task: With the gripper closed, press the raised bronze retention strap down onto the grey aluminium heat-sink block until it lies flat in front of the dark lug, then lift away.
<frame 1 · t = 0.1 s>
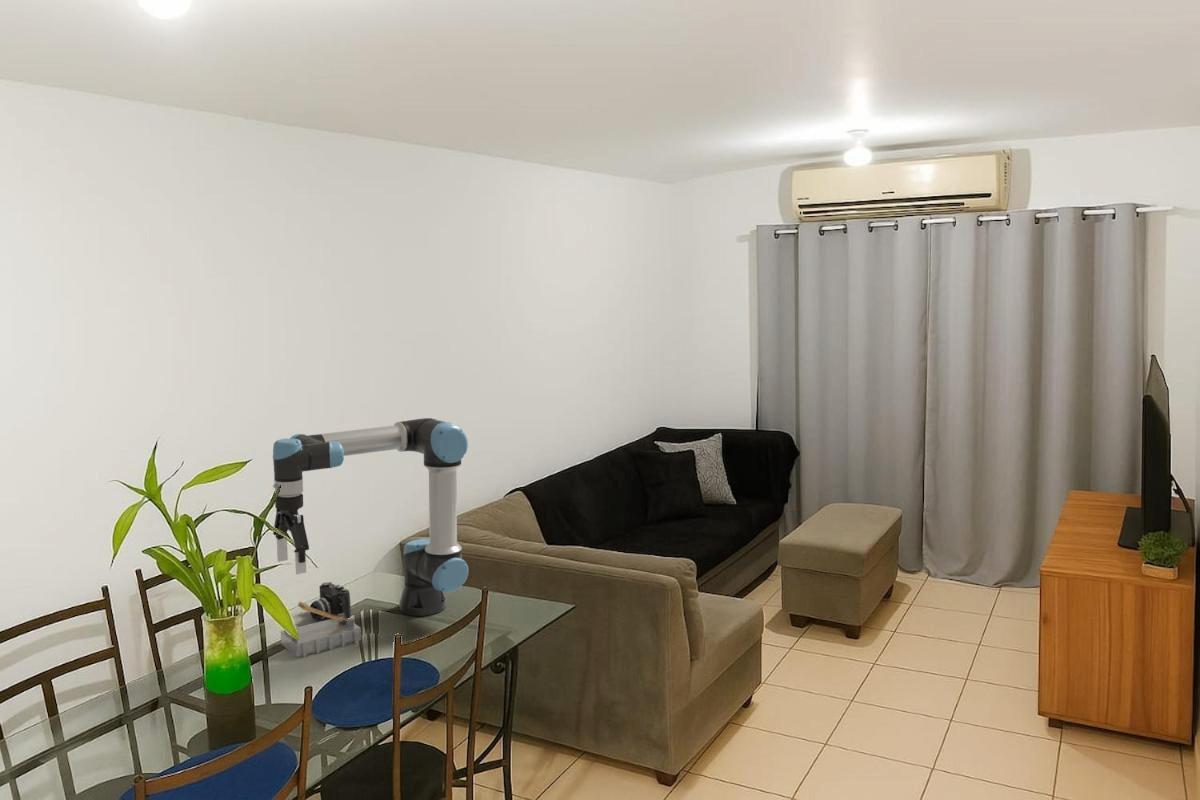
hand: (291, 566, 265), 28 cm above the table, fingers open, 13 cm apart
camera: (327, 617, 301), on the table
heatsink: (321, 642, 281), on the table
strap: (325, 613, 281), point 9 cm above the table, hinge at 30.0°
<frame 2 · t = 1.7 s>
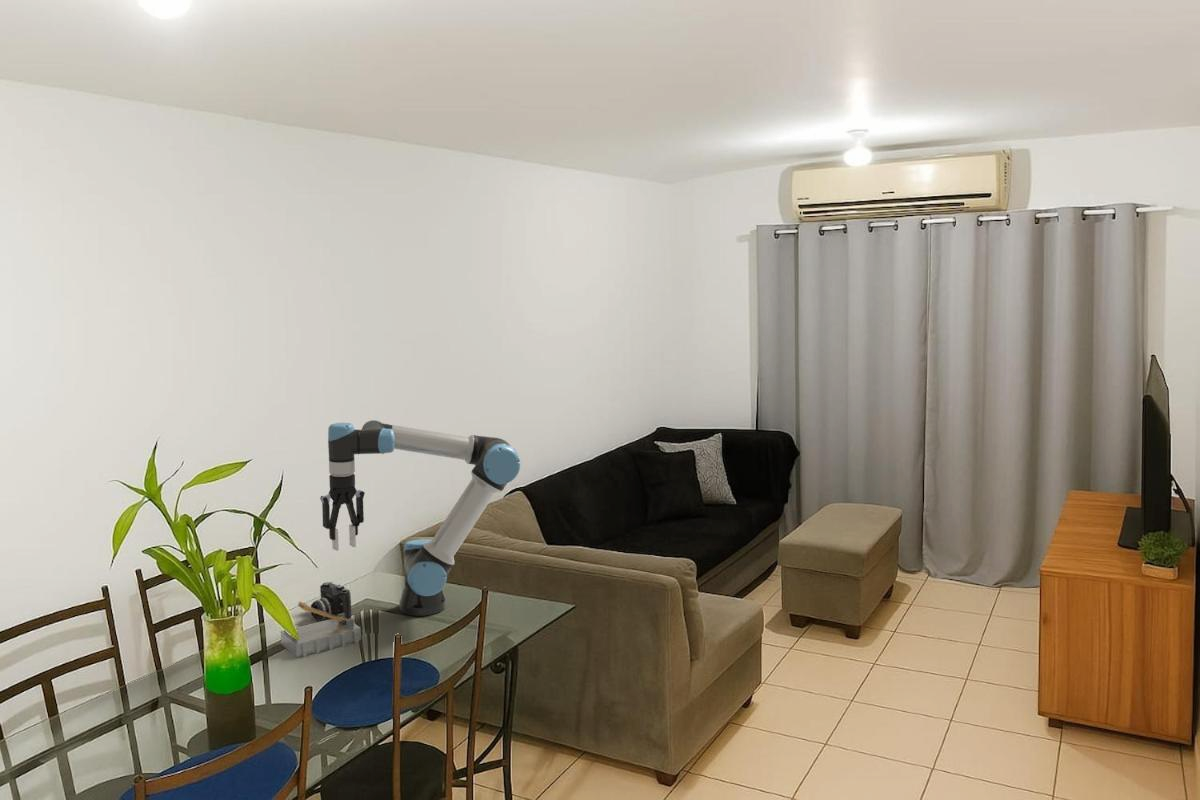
hand: (344, 547, 287), 27 cm above the table, fingers open, 5 cm apart
nothing on the table moved.
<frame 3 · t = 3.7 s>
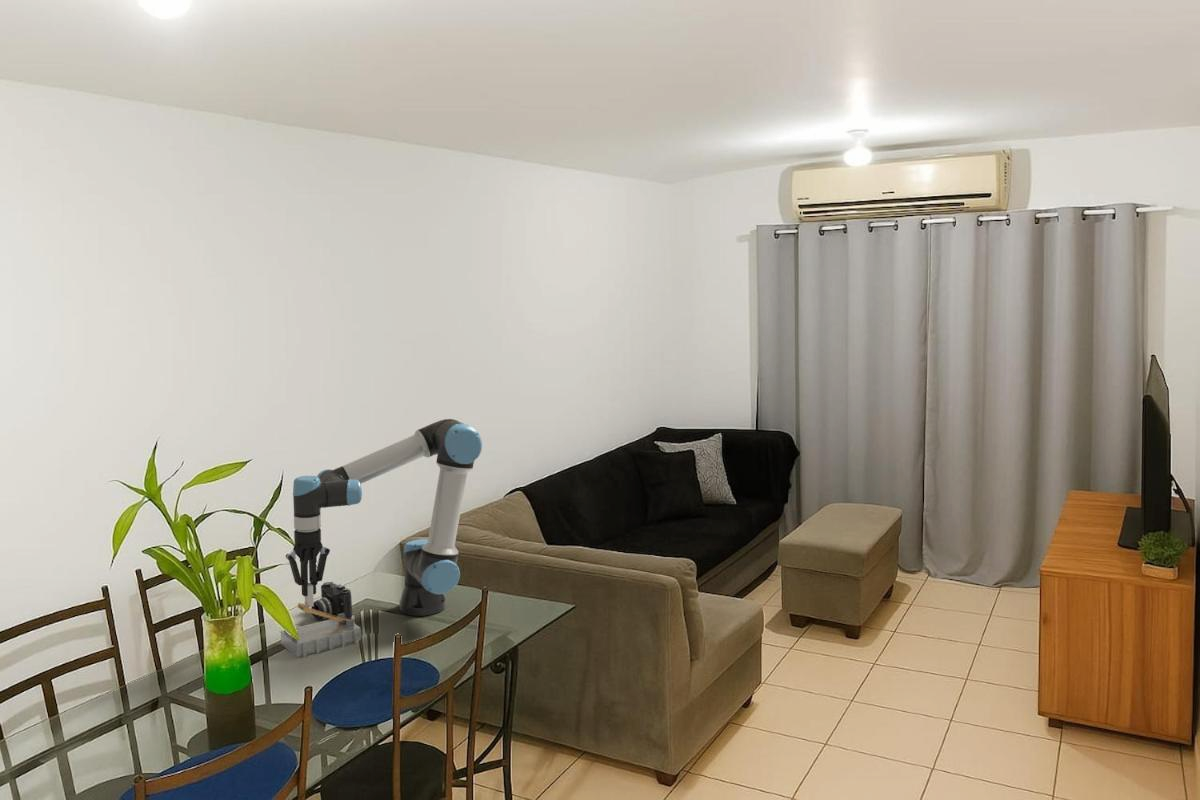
hand: (309, 605, 277), 12 cm above the table, fingers closed
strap: (325, 614, 281), point 8 cm above the table, hinge at 28.6°, touching gripper
everything else where it was.
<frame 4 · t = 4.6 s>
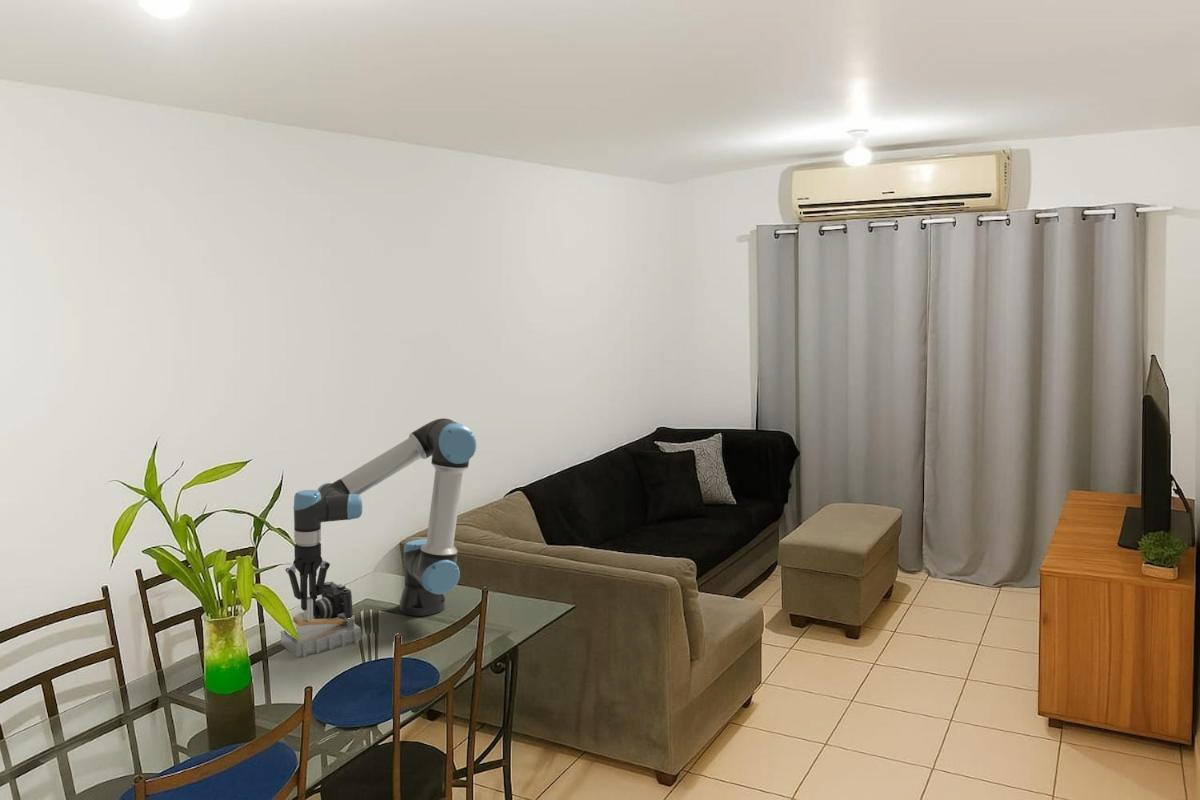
hand: (308, 619, 278), 8 cm above the table, fingers closed
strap: (322, 621, 281), point 7 cm above the table, hinge at 12.7°, touching gripper
everything else where it was.
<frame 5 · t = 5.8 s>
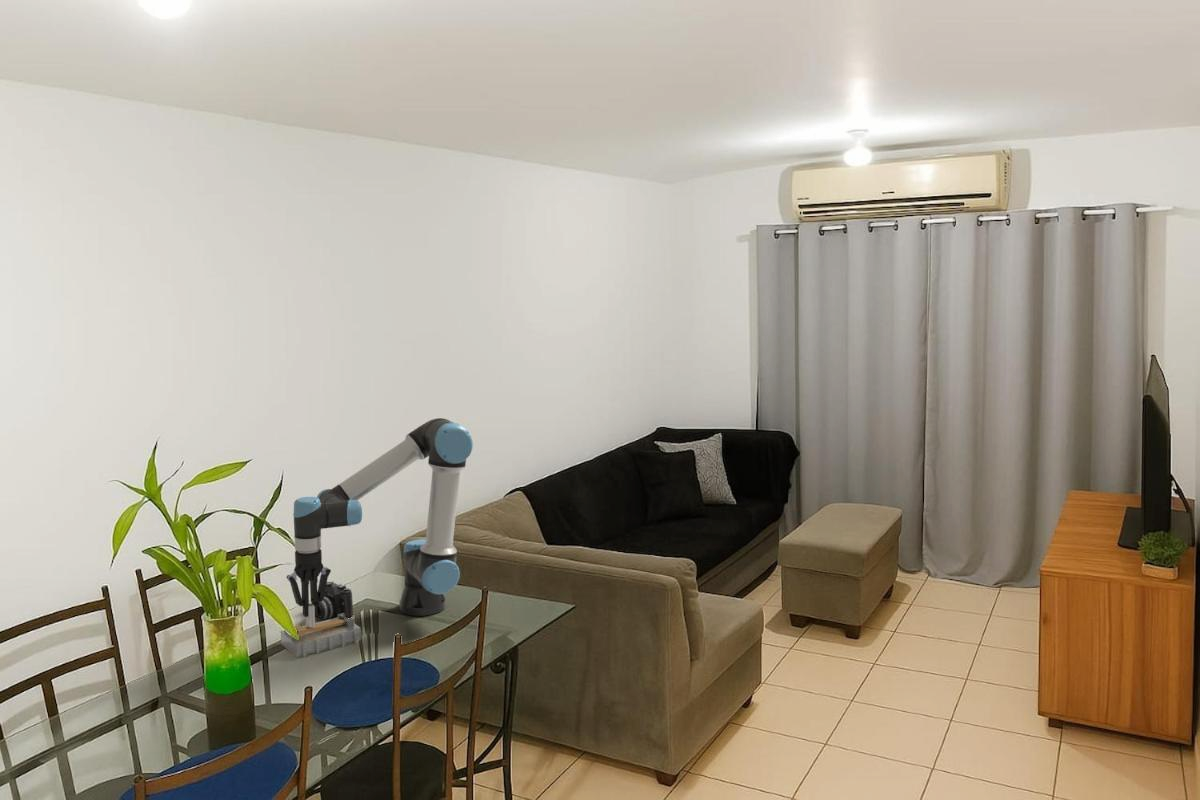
hand: (310, 625, 278), 6 cm above the table, fingers closed
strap: (321, 625, 281), point 5 cm above the table, hinge at 3.0°
everything else where it was.
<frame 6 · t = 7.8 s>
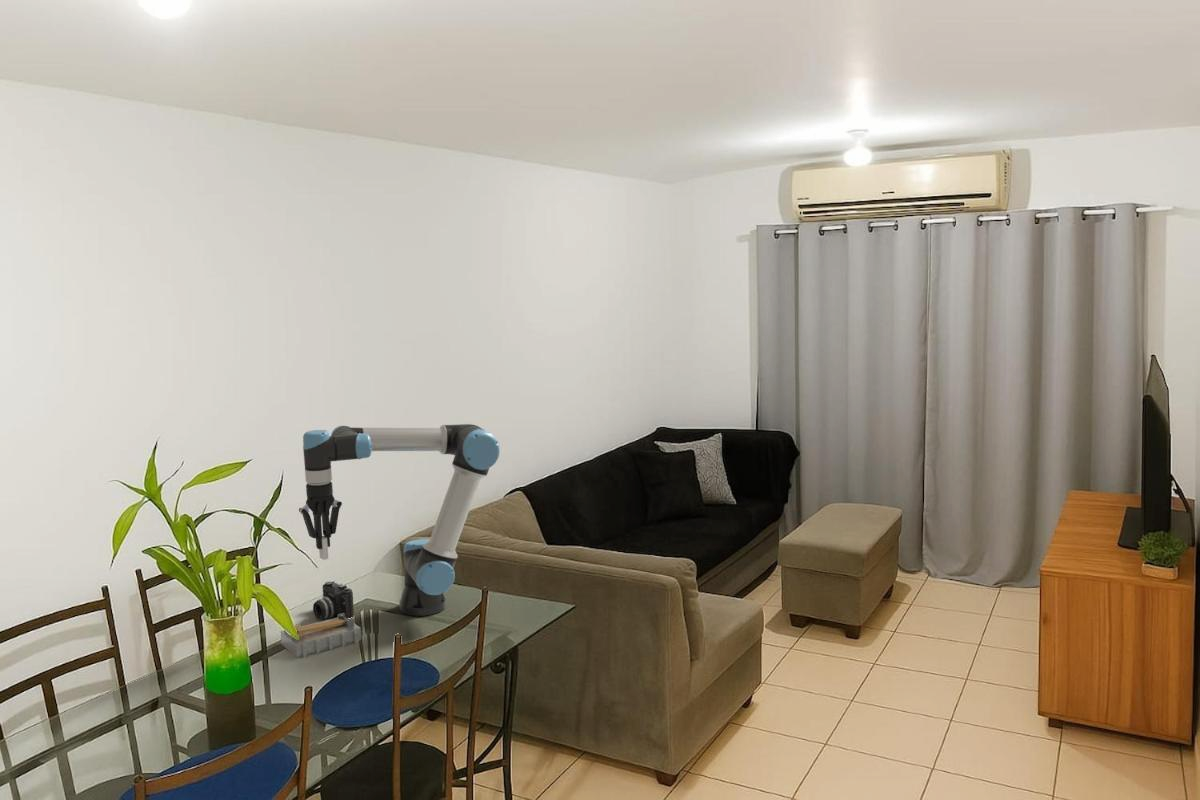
hand: (324, 558, 281), 25 cm above the table, fingers closed
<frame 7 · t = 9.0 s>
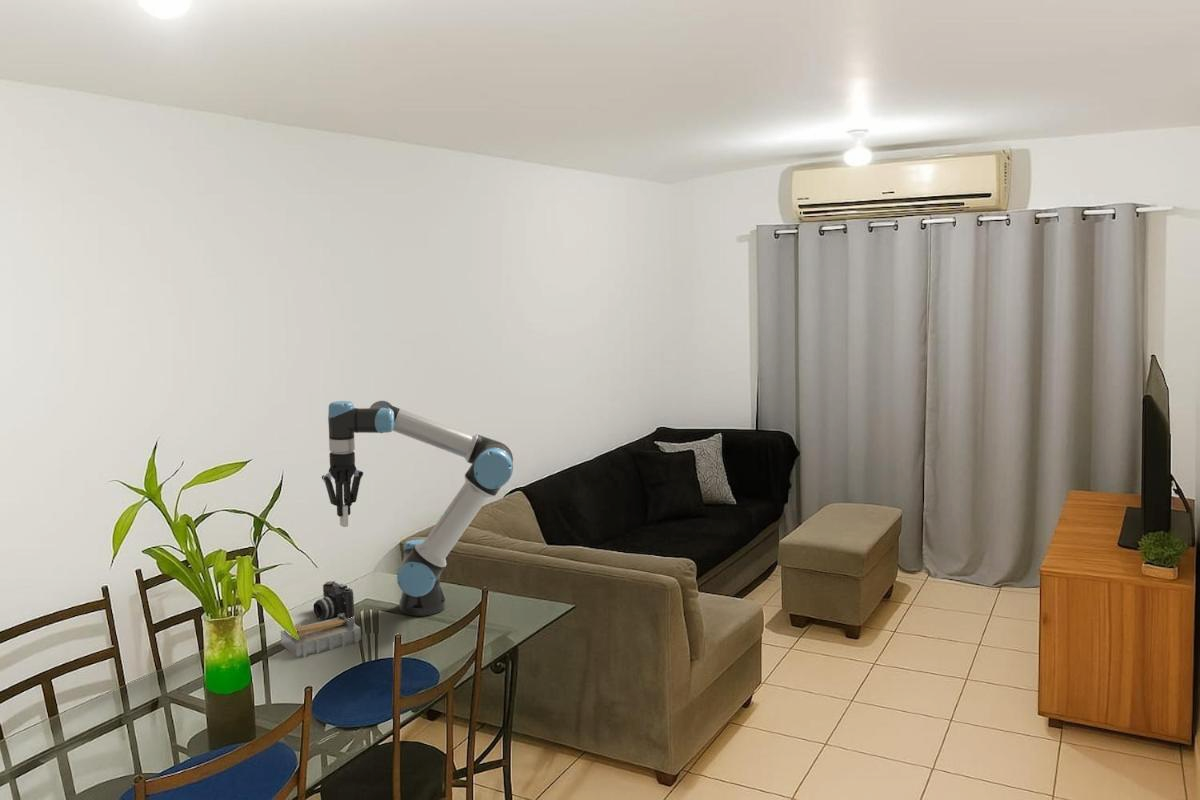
hand: (344, 525, 290), 32 cm above the table, fingers closed
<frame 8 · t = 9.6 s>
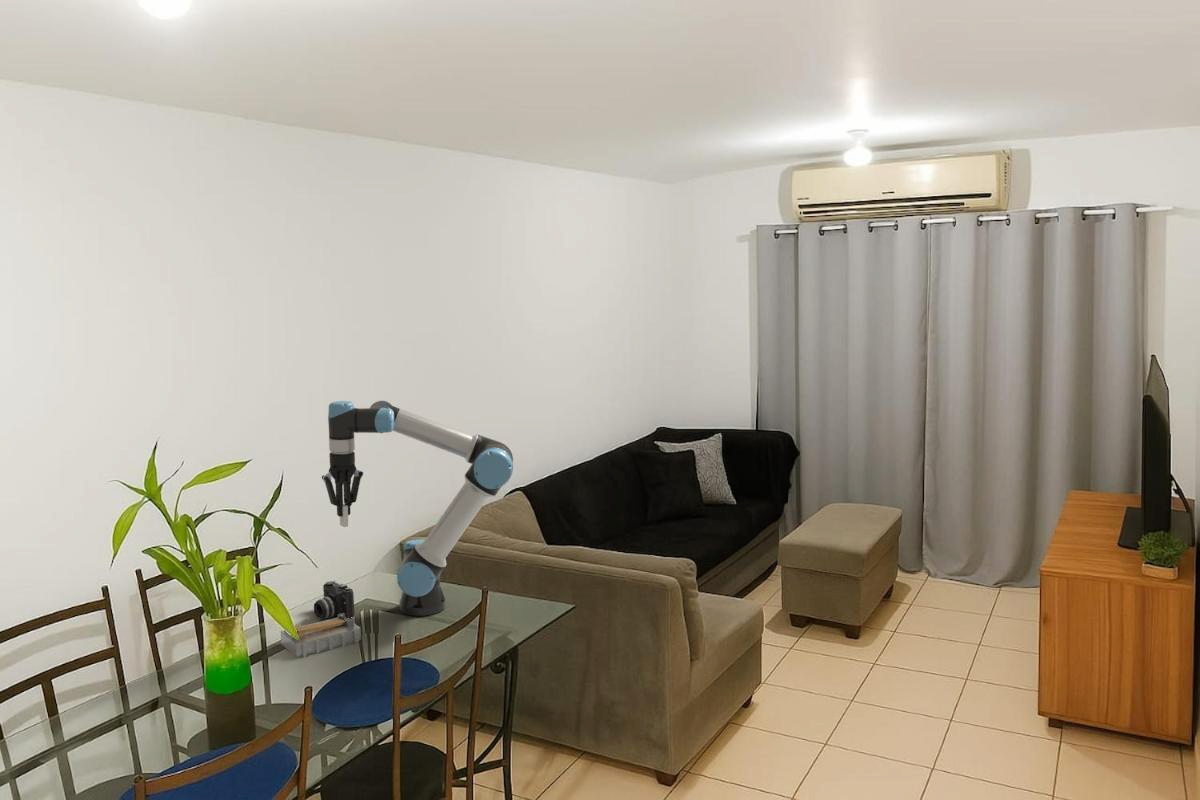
hand: (344, 525, 290), 32 cm above the table, fingers closed
at the end: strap at +3° (first picture: +30°) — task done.
